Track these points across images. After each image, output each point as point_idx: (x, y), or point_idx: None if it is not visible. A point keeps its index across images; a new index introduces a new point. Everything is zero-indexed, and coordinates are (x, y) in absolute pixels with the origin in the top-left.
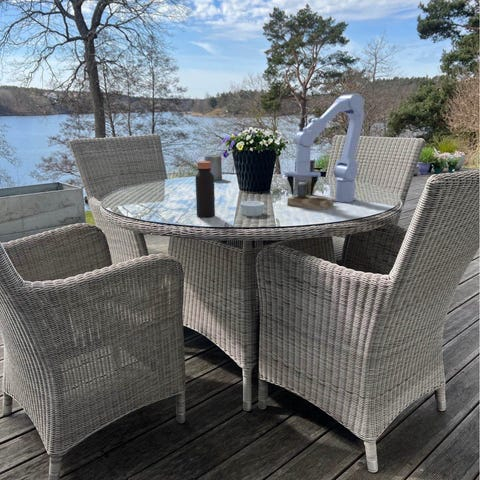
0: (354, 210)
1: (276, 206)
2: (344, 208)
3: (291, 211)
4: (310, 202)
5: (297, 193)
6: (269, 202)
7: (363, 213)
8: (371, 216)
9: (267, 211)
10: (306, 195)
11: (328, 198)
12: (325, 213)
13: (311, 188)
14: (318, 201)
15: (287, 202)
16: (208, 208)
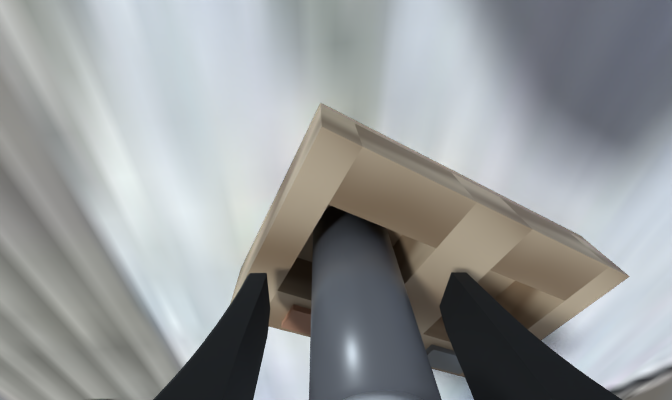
0: (629, 324)
1: (170, 299)
2: (605, 295)
3: (288, 374)
4: None
5: (311, 303)
6: (42, 182)
7: (628, 361)
8: (623, 390)
9: (164, 387)
10: (419, 176)
11: (584, 284)
12: (450, 380)
13: (474, 387)
14: (458, 369)
15: (236, 286)
16: None
